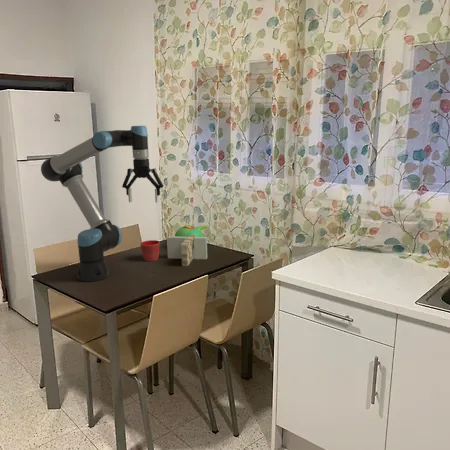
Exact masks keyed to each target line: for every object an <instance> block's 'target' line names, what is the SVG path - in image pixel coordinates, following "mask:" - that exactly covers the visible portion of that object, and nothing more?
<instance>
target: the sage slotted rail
mask: <svg viewBox="0 0 450 450" xmlns="http://www.w3.org/2000/svg"><path fill="white" fill-rule="evenodd" d="M186 238H187V237H179V236H175V235H174V236H173V235H172V236H170V235H168V236H167V237H166V245H167V246H166V247H167V259H177V260H178V259H180V260H182V252H181V244H182V243H183V242H184V241H185V240H186ZM192 258H193V260H207V259H208V238H207V236H204V237H195V238H194V247H193V248H192Z"/></svg>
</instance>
